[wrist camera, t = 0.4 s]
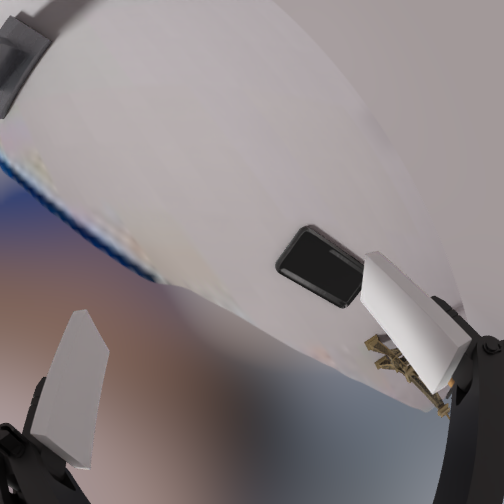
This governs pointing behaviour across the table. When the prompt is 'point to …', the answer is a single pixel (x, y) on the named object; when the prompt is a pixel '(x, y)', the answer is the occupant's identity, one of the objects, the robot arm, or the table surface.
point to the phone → (321, 268)
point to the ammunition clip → (451, 382)
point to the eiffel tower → (404, 371)
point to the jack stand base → (17, 58)
